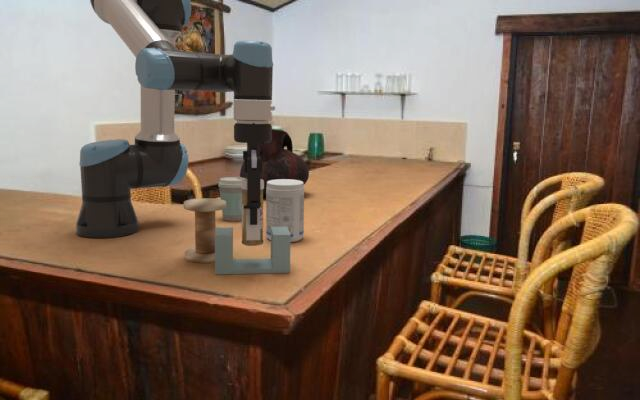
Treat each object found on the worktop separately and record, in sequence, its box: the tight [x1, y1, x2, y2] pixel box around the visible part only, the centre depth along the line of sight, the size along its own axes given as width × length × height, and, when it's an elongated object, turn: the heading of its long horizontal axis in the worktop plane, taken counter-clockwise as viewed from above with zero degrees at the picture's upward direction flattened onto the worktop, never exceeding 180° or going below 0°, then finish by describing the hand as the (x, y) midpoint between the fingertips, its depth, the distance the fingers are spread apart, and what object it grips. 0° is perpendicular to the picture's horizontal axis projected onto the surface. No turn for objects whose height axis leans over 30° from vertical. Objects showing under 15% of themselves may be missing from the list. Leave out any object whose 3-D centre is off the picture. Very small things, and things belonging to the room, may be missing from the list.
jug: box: [239, 128, 310, 198], centre depth 195 cm, size 25×25×25 cm
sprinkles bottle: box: [241, 179, 264, 247], centre depth 109 cm, size 5×5×13 cm
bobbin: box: [183, 197, 226, 264], centre depth 117 cm, size 9×9×12 cm
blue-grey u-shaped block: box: [214, 226, 291, 275], centre depth 111 cm, size 15×7×8 cm, turn 99°
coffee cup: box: [217, 176, 245, 222], centre depth 155 cm, size 8×8×12 cm
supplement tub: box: [265, 179, 305, 243], centre depth 135 cm, size 10×10×15 cm
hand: (252, 236), depth 110 cm, fingers closed on sprinkles bottle, 4 cm apart
